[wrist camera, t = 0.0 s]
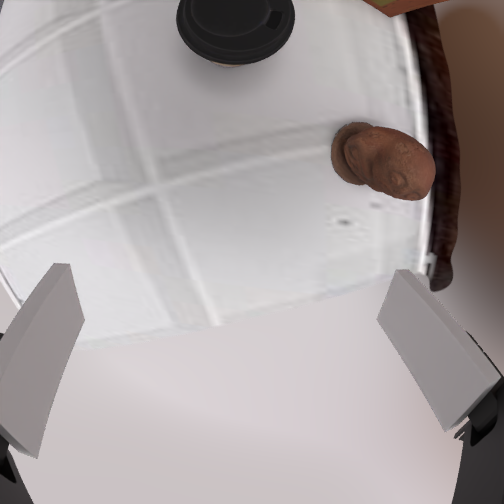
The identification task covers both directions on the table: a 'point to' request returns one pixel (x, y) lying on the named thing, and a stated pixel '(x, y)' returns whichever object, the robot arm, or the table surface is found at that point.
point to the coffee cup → (235, 28)
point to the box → (399, 5)
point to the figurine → (383, 160)
